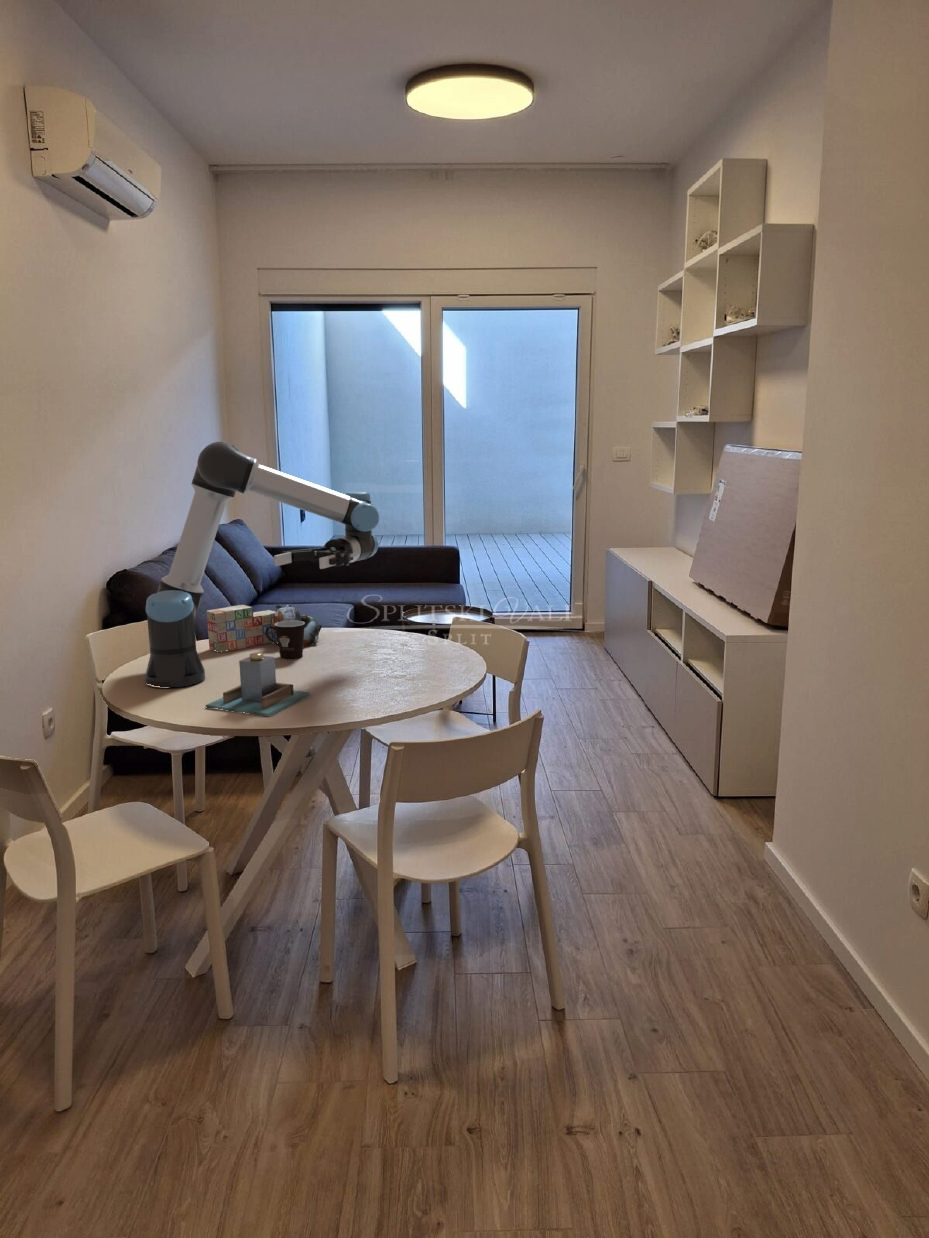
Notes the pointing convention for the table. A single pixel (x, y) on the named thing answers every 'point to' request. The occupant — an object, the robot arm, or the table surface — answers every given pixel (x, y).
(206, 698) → the table surface
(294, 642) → the coffee mug
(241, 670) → the grey block with knob
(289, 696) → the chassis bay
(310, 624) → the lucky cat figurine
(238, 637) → the stack of blocks
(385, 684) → the table surface
